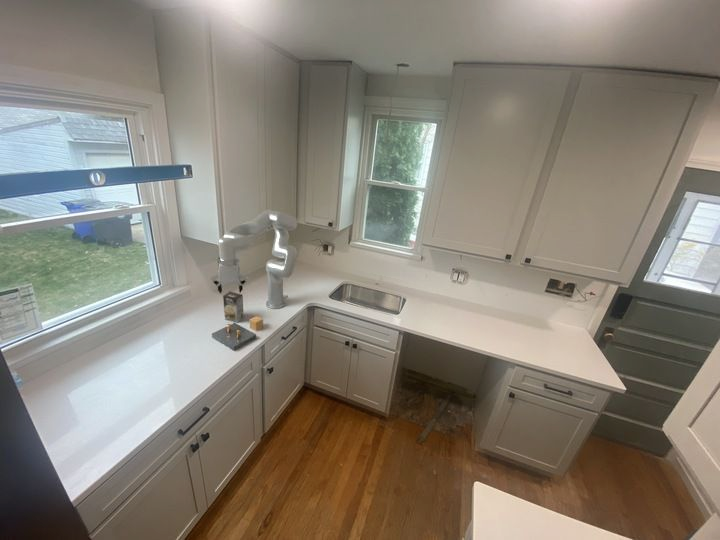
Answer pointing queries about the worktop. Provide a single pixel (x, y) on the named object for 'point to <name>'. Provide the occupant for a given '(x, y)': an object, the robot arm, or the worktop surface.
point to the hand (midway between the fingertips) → (230, 291)
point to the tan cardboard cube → (256, 323)
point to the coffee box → (233, 306)
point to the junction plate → (234, 336)
